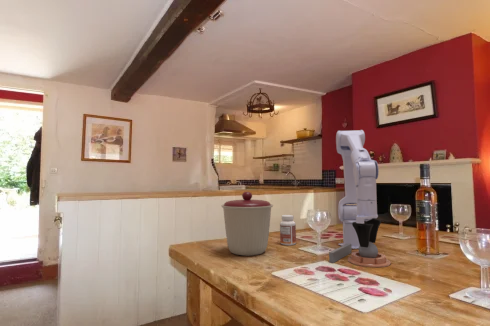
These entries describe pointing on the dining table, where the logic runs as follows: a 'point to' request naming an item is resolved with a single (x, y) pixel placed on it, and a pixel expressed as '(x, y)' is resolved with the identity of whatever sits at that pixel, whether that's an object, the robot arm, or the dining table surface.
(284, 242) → the pill bottle
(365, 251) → the ball
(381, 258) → the bowl
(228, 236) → the canister
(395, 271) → the dining table surface
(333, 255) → the low wall
